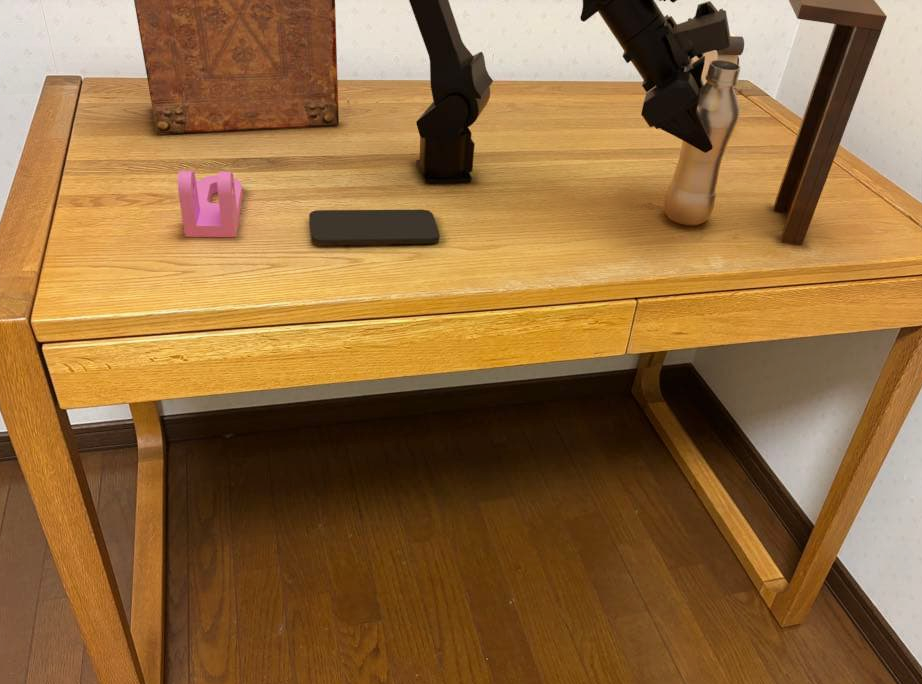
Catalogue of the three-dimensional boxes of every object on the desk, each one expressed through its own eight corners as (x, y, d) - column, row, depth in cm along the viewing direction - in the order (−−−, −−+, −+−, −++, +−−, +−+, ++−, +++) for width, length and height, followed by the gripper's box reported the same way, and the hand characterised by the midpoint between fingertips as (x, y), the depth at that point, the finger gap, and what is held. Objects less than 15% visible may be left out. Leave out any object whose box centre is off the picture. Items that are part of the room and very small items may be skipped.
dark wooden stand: (730, 234, 109) (801, 4, 92) (725, 200, 117) (790, -18, 99) (802, 245, 109) (887, 16, 91) (792, 210, 117) (869, -7, 99)
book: (326, 102, 131) (318, -123, 111) (339, 126, 124) (333, -109, 105) (151, 109, 122) (111, -133, 103) (155, 135, 116) (114, -118, 97)
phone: (441, 238, 100) (311, 240, 96) (440, 244, 100) (312, 246, 97) (431, 209, 105) (308, 209, 102) (431, 215, 106) (308, 216, 102)
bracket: (235, 237, 97) (229, 180, 93) (185, 236, 96) (176, 179, 92) (244, 186, 107) (238, 133, 103) (198, 185, 106) (190, 131, 102)
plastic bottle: (714, 216, 113) (758, 63, 100) (702, 237, 108) (746, 79, 95) (668, 203, 115) (705, 51, 102) (654, 223, 110) (691, 66, 97)
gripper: (696, 3, 87) (772, 126, 93) (704, -36, 101) (769, 73, 107) (608, 68, 93) (684, 180, 99) (627, 23, 107) (692, 123, 113)
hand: (710, 136), depth 104 cm, fingers open, 9 cm apart
